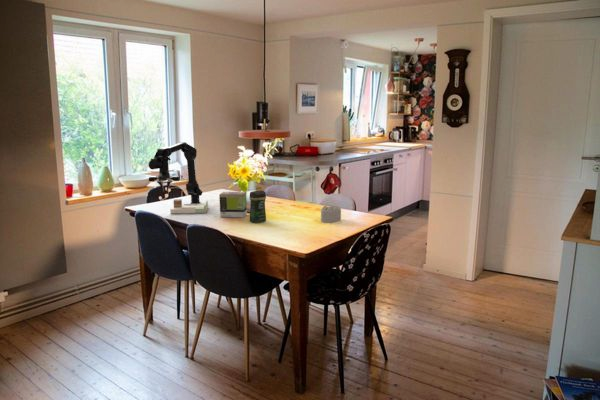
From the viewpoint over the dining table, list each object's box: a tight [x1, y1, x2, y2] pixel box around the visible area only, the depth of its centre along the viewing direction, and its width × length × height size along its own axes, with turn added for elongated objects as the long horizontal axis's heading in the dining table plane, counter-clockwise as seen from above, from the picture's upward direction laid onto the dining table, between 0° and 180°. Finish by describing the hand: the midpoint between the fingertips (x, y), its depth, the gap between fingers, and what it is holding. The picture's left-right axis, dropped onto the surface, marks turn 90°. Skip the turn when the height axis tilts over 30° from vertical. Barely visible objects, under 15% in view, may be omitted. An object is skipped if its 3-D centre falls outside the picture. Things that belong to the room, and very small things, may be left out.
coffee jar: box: [248, 189, 267, 224], centre depth 279 cm, size 10×8×19 cm
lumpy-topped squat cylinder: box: [320, 205, 342, 224], centre depth 282 cm, size 10×13×9 cm
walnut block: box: [173, 198, 183, 207], centre depth 306 cm, size 4×4×4 cm
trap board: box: [169, 200, 209, 215], centre depth 307 cm, size 16×22×5 cm
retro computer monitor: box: [218, 191, 248, 218], centre depth 293 cm, size 15×10×15 cm, turn 84°
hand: (165, 191), depth 304 cm, fingers open, 2 cm apart
